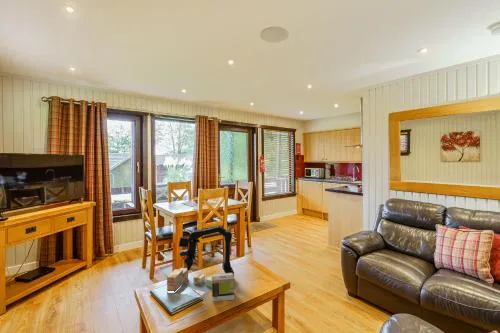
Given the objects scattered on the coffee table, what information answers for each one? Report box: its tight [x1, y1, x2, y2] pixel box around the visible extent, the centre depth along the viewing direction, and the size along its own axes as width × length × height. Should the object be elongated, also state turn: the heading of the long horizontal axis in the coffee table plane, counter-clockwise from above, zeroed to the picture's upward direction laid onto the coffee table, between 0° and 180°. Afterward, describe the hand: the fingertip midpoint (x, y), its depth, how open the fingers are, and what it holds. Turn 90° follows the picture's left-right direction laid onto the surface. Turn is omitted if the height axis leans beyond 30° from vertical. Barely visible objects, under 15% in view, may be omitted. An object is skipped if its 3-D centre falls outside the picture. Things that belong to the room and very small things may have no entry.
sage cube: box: [205, 276, 212, 287], centre depth 186 cm, size 5×5×5 cm
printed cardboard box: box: [166, 267, 189, 292], centre depth 185 cm, size 21×6×12 cm, turn 169°
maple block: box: [193, 273, 206, 285], centre depth 190 cm, size 6×6×5 cm
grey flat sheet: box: [188, 280, 212, 298], centre depth 181 cm, size 18×23×1 cm
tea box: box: [211, 272, 235, 302], centre depth 170 cm, size 15×10×15 cm, turn 100°
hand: (189, 267), depth 185 cm, fingers open, 9 cm apart
